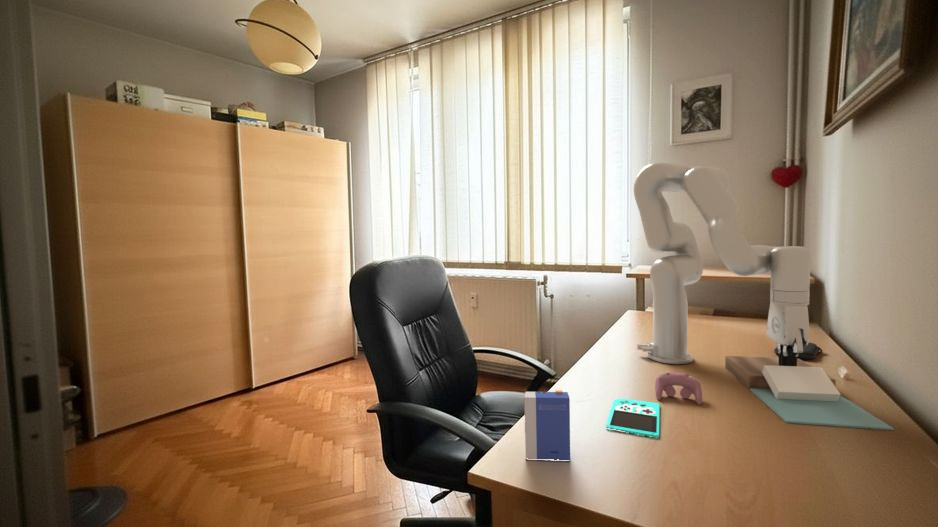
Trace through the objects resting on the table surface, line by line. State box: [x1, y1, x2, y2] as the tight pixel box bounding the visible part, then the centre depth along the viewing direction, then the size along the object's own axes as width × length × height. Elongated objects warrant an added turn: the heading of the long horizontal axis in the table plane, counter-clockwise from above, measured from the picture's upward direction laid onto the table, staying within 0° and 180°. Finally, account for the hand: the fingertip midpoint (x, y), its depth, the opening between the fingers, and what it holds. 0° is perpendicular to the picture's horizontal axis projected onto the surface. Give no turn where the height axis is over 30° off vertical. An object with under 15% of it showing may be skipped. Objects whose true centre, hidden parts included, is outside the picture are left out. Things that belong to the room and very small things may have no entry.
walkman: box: [523, 389, 571, 461], centre depth 73 cm, size 8×3×12 cm, turn 84°
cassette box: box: [762, 365, 842, 402], centre depth 96 cm, size 12×8×2 cm, turn 78°
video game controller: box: [654, 372, 703, 406], centre depth 97 cm, size 10×5×7 cm, turn 66°
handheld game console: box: [605, 398, 661, 439], centre depth 88 cm, size 10×16×1 cm, turn 155°
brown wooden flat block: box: [724, 355, 837, 390], centre depth 107 cm, size 18×16×4 cm
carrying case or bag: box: [773, 342, 823, 361], centre depth 127 cm, size 11×3×15 cm
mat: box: [749, 388, 895, 431], centre depth 90 cm, size 18×18×1 cm
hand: (787, 370), depth 101 cm, fingers closed
